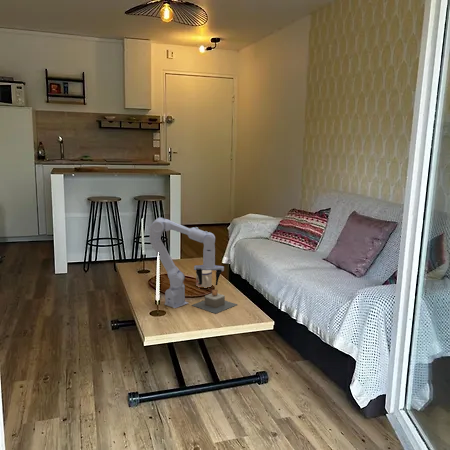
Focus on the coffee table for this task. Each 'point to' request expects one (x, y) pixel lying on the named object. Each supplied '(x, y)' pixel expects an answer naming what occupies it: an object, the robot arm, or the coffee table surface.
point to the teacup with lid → (205, 279)
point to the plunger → (214, 292)
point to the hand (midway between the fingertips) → (208, 284)
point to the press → (214, 303)
